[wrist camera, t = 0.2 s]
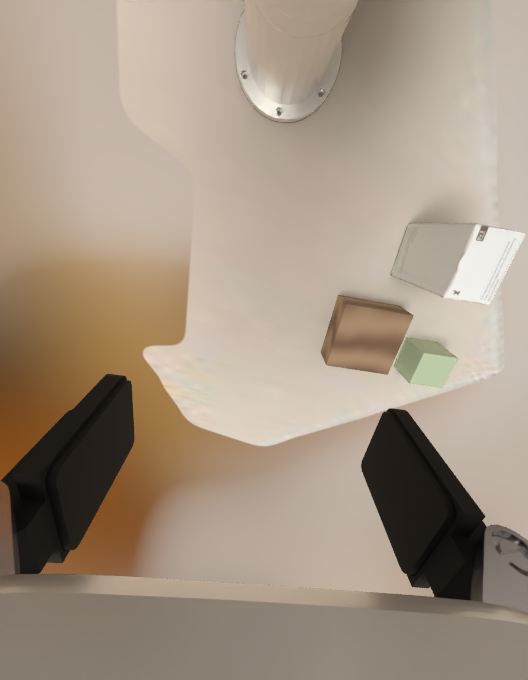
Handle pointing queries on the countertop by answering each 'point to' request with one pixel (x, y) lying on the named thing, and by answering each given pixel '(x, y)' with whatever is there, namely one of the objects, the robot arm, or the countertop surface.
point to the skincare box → (457, 259)
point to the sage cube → (425, 363)
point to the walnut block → (364, 335)
